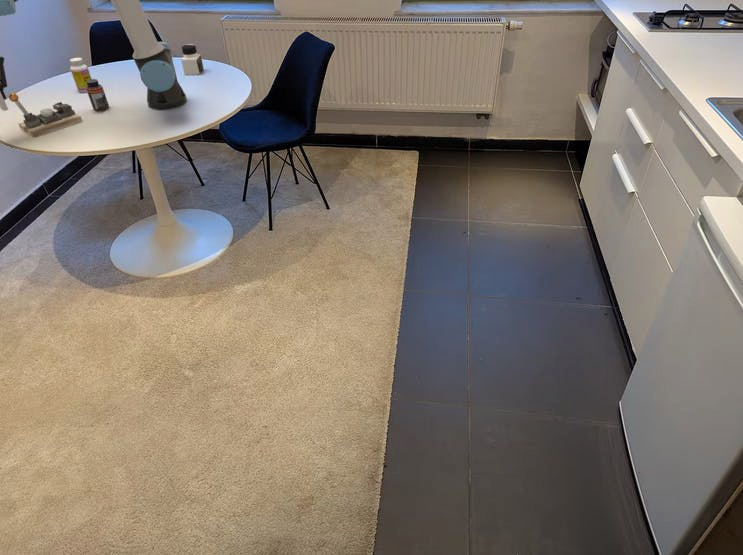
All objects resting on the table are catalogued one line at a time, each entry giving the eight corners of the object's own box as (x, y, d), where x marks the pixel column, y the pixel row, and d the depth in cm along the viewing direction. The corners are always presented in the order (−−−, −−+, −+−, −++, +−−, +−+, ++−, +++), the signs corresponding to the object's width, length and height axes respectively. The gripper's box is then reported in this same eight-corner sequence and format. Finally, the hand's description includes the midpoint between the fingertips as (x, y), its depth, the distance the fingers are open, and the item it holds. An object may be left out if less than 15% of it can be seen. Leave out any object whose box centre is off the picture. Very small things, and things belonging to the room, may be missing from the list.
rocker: (72, 109, 206) (71, 105, 205) (58, 111, 202) (57, 107, 202) (67, 107, 208) (66, 103, 207) (53, 108, 204) (52, 104, 204)
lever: (36, 117, 198) (16, 92, 190) (28, 122, 197) (8, 96, 189) (32, 115, 199) (12, 90, 191) (25, 120, 198) (4, 95, 190)
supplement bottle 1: (88, 93, 230) (77, 62, 222) (75, 92, 232) (63, 61, 224) (98, 87, 236) (87, 57, 227) (84, 86, 237) (73, 56, 229)
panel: (82, 121, 207) (76, 106, 203) (34, 137, 196) (27, 121, 192) (67, 113, 213) (61, 98, 209) (20, 129, 202) (13, 113, 198)
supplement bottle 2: (93, 107, 217) (83, 79, 210) (109, 105, 219) (100, 76, 212) (93, 112, 213) (83, 84, 206) (109, 110, 215) (100, 81, 208)
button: (56, 116, 202) (53, 110, 201) (45, 119, 200) (42, 113, 199) (51, 113, 205) (48, 107, 203) (40, 117, 202) (38, 110, 201)
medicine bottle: (200, 75, 245) (194, 47, 238) (184, 75, 246) (177, 47, 238) (204, 69, 251) (198, 42, 243) (188, 70, 251) (182, 43, 244)
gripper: (-12, 32, 181) (19, 101, 196) (-55, 41, 174) (-20, 112, 189) (-3, 36, 178) (28, 106, 192) (-46, 45, 170) (-11, 117, 185)
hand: (4, 109), depth 191 cm, fingers closed
